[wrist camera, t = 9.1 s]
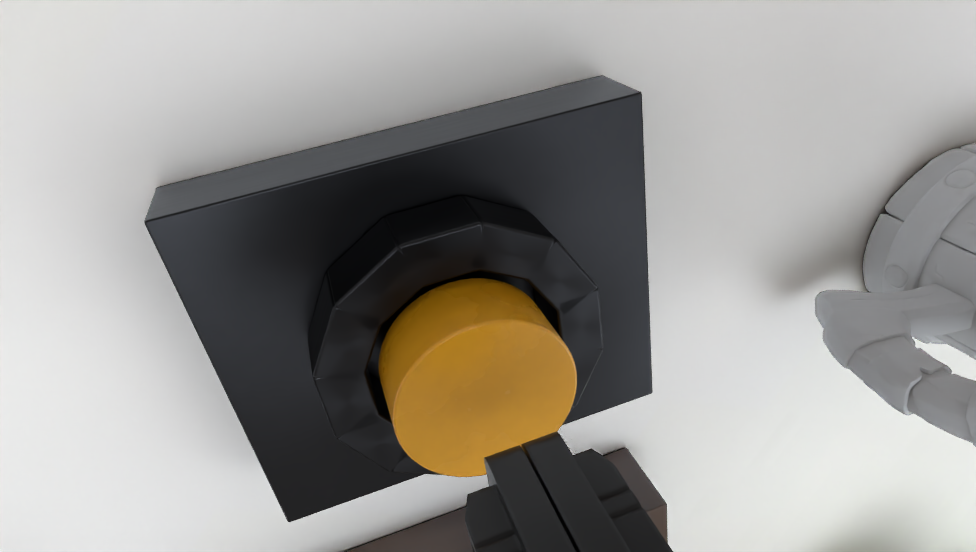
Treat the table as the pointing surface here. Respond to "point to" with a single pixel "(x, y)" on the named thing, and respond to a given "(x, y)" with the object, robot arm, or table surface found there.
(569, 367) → the button
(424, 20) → the table surface
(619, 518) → the robot arm
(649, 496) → the dial panel
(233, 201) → the button housing
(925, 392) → the mug
